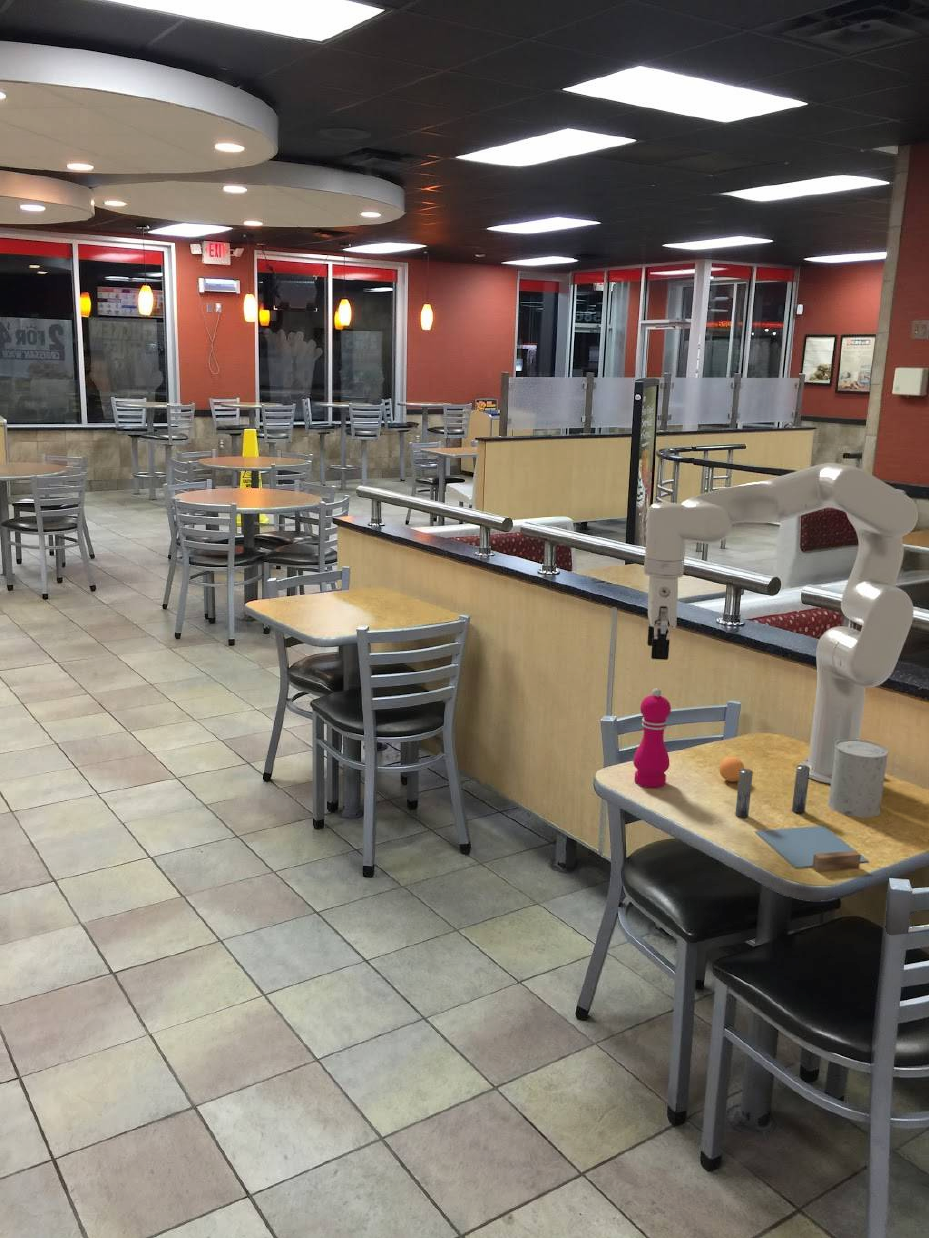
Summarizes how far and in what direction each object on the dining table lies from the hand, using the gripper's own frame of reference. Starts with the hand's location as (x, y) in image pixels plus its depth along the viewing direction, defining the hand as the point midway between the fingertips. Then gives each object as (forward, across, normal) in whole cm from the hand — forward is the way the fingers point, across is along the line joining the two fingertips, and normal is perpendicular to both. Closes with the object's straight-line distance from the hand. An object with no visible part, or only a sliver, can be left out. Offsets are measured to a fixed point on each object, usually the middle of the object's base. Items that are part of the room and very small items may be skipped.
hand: (657, 652), depth 200 cm
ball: (+25, +4, -17) cm, 31 cm away
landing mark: (+28, -25, -27) cm, 46 cm away
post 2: (+28, -10, -28) cm, 40 cm away
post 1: (+28, -13, -17) cm, 35 cm away
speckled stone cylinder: (+28, -6, -39) cm, 49 cm away
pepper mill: (+28, 0, 0) cm, 28 cm away
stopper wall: (+28, -32, -29) cm, 52 cm away
